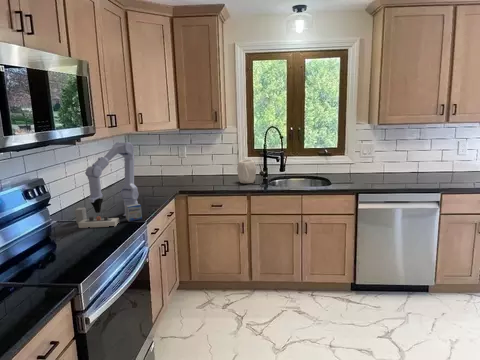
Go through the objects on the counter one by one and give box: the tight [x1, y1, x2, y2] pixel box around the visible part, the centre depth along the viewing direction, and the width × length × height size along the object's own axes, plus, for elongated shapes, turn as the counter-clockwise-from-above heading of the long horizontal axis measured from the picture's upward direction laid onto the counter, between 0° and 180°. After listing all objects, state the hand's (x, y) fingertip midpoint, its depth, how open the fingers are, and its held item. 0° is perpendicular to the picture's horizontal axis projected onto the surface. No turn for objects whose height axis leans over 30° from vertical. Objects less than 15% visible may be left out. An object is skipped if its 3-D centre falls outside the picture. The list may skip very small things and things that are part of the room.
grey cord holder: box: [74, 207, 88, 225], centre depth 215 cm, size 5×4×8 cm
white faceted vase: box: [236, 159, 257, 184], centre depth 314 cm, size 16×27×19 cm, turn 169°
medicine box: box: [124, 203, 143, 222], centre depth 216 cm, size 8×4×9 cm, turn 126°
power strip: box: [77, 217, 120, 229], centre depth 208 cm, size 7×20×3 cm, turn 91°
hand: (98, 212), depth 207 cm, fingers closed
